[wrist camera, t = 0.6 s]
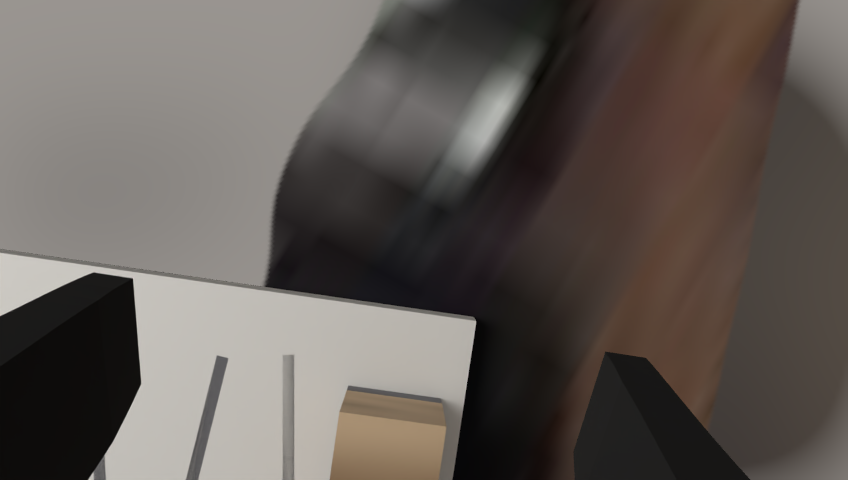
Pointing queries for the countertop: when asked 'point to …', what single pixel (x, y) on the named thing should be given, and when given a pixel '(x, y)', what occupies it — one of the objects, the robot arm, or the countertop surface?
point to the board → (255, 371)
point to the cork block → (388, 436)
